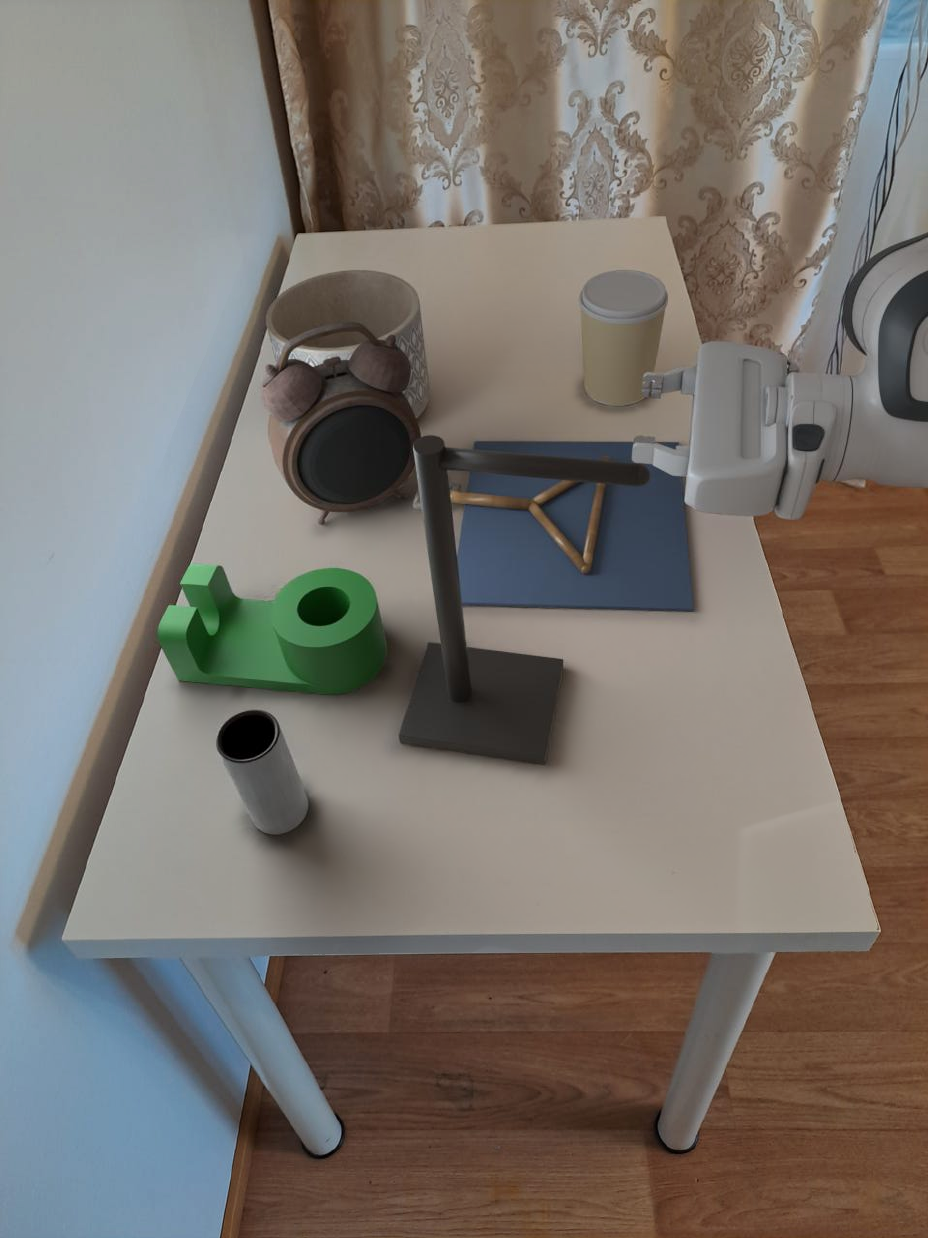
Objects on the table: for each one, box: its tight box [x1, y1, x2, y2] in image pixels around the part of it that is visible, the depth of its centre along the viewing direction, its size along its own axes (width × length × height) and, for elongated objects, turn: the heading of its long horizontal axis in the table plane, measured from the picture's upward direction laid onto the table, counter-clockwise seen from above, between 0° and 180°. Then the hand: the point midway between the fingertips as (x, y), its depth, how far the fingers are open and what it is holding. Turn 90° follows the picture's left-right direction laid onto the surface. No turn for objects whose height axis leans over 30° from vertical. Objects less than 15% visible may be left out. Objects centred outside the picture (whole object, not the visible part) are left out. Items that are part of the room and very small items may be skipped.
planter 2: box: [265, 269, 431, 419], centre depth 101 cm, size 16×16×13 cm
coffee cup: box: [578, 269, 669, 407], centre depth 100 cm, size 9×9×12 cm
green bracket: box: [157, 563, 388, 696], centre depth 79 cm, size 18×9×6 cm, turn 80°
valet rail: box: [398, 434, 650, 765], centre depth 65 cm, size 18×10×27 cm, turn 77°
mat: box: [457, 440, 694, 612], centre depth 90 cm, size 22×24×1 cm
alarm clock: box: [260, 322, 422, 526], centre depth 87 cm, size 14×7×20 cm, turn 112°
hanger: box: [412, 456, 610, 574], centre depth 91 cm, size 1×17×19 cm
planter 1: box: [215, 709, 309, 835], centre depth 67 cm, size 4×4×10 cm
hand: (637, 415), depth 79 cm, fingers open, 8 cm apart
